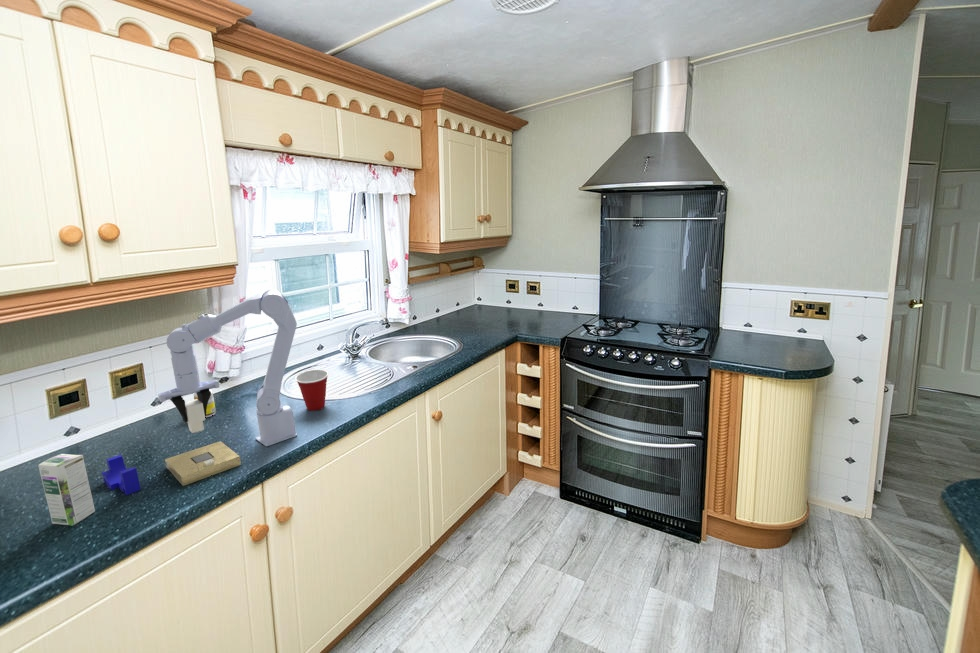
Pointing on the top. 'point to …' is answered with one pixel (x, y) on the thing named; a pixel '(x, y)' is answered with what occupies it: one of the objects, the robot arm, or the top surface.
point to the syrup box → (66, 489)
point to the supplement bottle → (208, 405)
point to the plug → (195, 415)
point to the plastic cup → (313, 388)
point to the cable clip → (121, 476)
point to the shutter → (202, 458)
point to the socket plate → (202, 463)
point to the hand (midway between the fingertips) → (194, 418)
